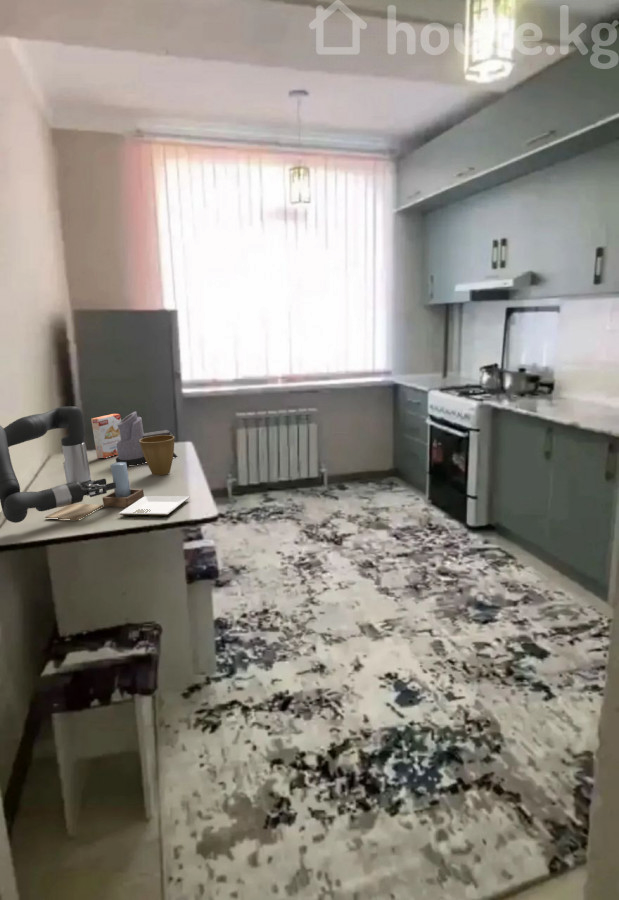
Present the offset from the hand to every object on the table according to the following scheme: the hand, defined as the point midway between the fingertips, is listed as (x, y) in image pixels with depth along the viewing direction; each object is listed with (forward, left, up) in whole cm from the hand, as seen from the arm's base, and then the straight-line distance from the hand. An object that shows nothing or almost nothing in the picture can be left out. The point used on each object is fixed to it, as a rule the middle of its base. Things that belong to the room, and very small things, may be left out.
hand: (110, 483), depth 210 cm
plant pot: (-4, +42, -9) cm, 43 cm away
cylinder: (+2, +4, -9) cm, 10 cm away
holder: (+2, +4, -9) cm, 10 cm away
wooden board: (-10, -9, -9) cm, 16 cm away
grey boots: (-26, +64, -9) cm, 70 cm away
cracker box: (-51, +73, -9) cm, 90 cm away
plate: (+19, -2, -9) cm, 21 cm away
